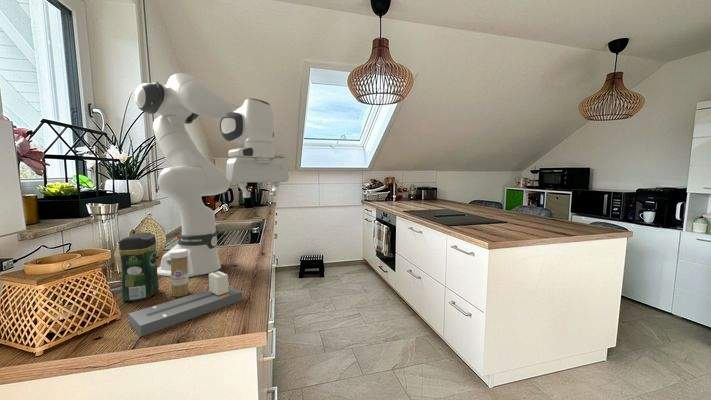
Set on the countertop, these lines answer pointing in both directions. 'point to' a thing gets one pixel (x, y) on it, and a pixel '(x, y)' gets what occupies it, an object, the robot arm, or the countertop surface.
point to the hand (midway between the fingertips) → (260, 196)
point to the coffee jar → (138, 266)
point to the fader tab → (218, 283)
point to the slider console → (180, 310)
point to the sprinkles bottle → (179, 272)
